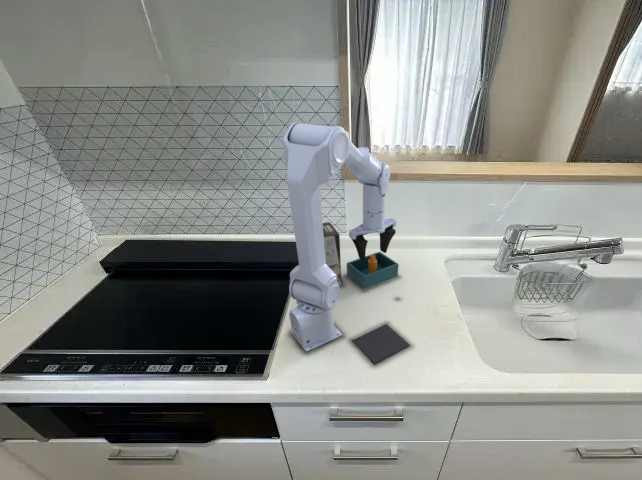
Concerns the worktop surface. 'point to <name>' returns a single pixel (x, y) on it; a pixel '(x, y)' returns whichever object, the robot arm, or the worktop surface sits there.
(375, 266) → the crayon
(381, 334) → the mat
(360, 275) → the teal open bin
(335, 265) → the coffee box
